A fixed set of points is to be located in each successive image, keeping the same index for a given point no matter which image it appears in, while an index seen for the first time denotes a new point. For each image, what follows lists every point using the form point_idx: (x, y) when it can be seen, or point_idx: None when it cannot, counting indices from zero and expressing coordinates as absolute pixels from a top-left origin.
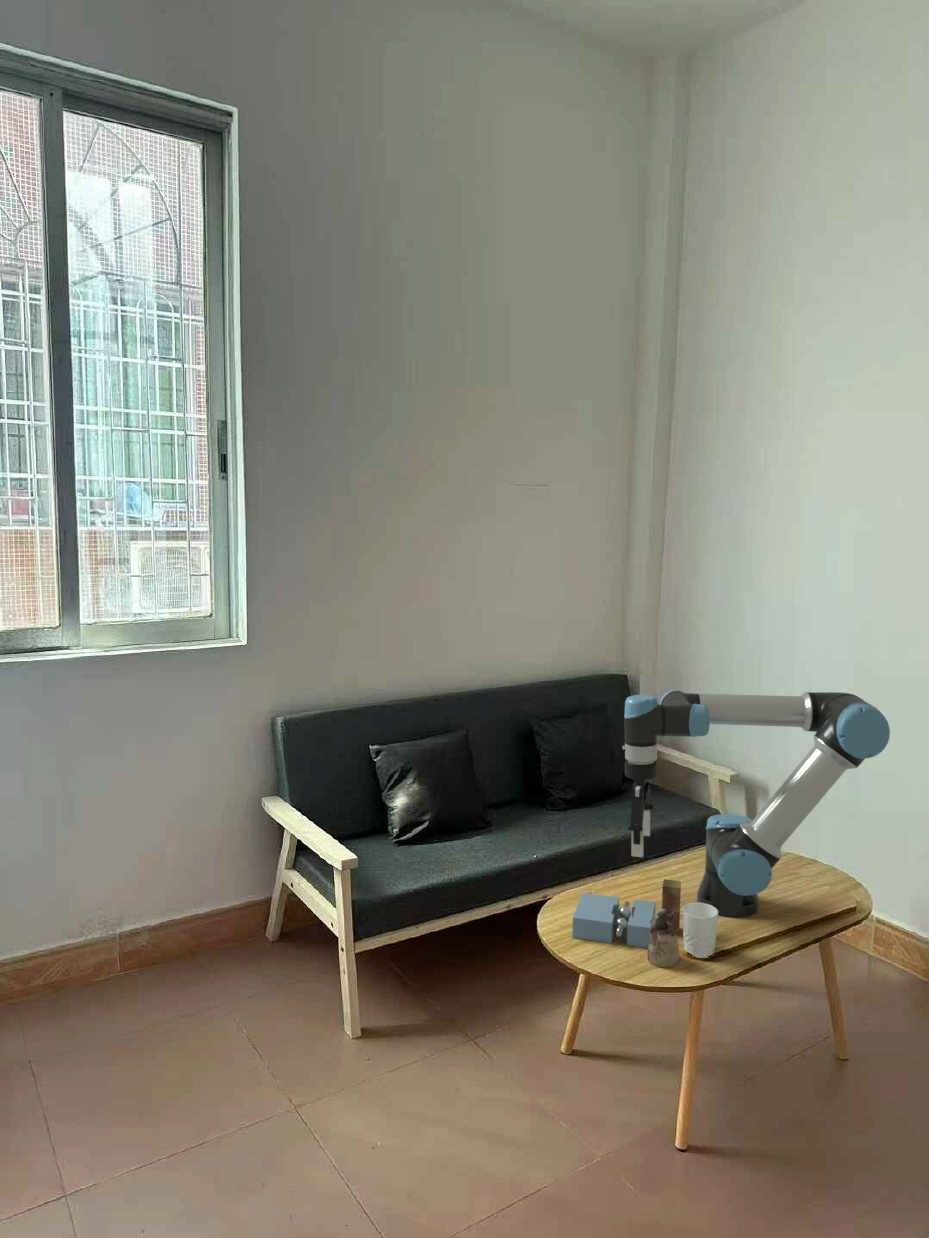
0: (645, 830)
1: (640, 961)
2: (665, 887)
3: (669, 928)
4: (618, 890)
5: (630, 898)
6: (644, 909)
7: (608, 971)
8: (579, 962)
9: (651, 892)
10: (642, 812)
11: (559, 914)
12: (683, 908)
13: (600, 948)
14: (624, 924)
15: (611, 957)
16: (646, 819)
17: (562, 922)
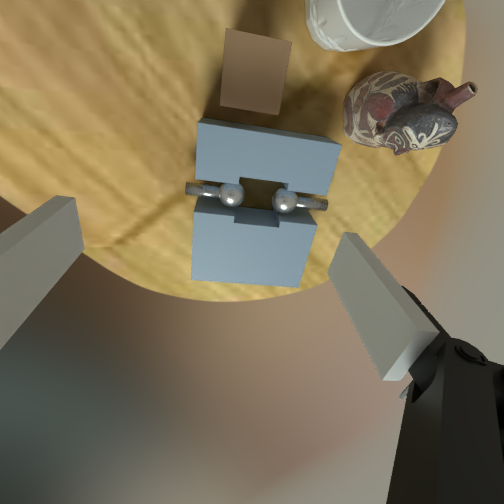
0: (63, 233)
1: (373, 157)
2: (279, 103)
3: (423, 100)
4: None
5: (101, 171)
6: (247, 154)
7: (399, 211)
8: None
9: (40, 116)
10: (501, 493)
11: (214, 288)
12: (378, 42)
13: (325, 225)
14: (296, 196)
15: (355, 207)
16: (18, 270)
17: None
